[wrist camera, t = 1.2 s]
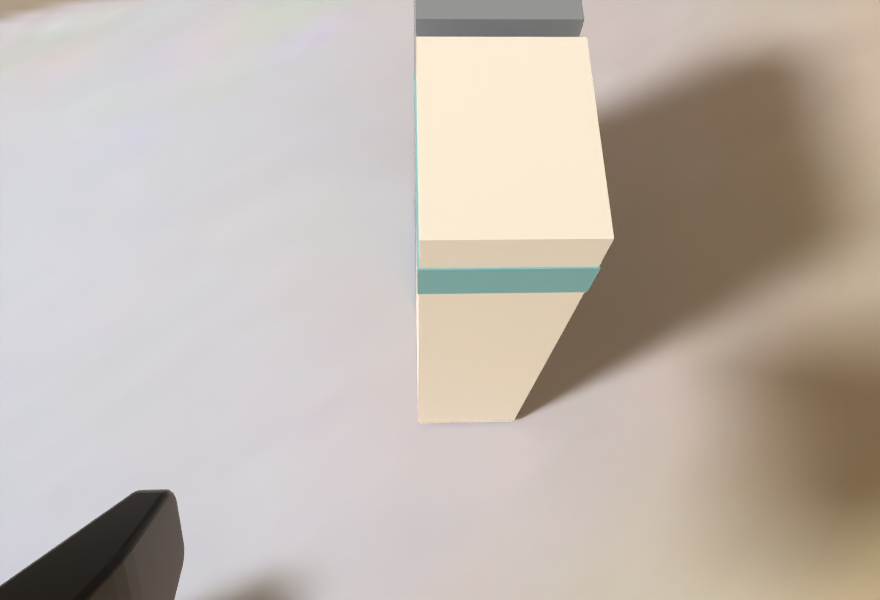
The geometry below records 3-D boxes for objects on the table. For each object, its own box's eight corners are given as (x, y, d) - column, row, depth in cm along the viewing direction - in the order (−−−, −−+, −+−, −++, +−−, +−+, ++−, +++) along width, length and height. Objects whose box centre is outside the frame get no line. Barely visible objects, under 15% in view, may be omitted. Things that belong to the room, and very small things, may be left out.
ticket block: (504, 296, 24) (584, 21, 13) (416, 297, 24) (416, 20, 12) (497, 194, 26) (563, -134, 14) (414, 194, 26) (413, -136, 14)
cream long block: (514, 422, 22) (616, 240, 11) (416, 423, 22) (417, 242, 11) (506, 303, 24) (588, 35, 12) (415, 304, 24) (414, 35, 12)
